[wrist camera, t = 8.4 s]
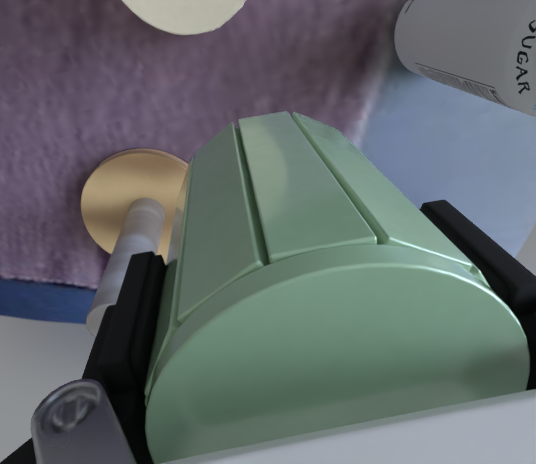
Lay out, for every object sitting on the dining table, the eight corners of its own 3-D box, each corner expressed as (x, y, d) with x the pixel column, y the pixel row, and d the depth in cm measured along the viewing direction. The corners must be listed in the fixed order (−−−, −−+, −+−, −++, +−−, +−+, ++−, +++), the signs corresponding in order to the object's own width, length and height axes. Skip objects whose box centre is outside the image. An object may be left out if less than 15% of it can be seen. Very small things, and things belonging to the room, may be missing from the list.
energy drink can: (483, -13, 28) (713, -24, 15) (453, 78, 31) (625, 134, 18) (403, -28, 27) (576, -52, 14) (379, 68, 30) (505, 120, 17)
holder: (64, 159, 31) (-31, 263, 19) (196, 138, 31) (186, 225, 19) (108, 267, 36) (55, 404, 24) (221, 247, 36) (226, 372, 24)
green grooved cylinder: (156, 131, 13) (81, 314, 6) (365, 97, 14) (575, 225, 6) (202, 298, 17) (194, 553, 9) (367, 268, 17) (499, 490, 9)
